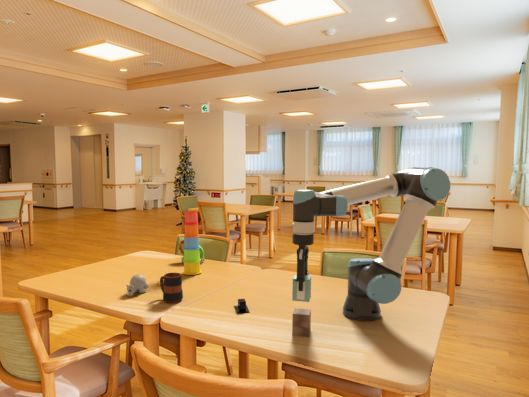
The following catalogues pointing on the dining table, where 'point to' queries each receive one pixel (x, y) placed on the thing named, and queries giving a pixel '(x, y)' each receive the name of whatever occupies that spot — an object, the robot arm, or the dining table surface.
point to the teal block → (307, 289)
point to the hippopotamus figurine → (137, 285)
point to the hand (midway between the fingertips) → (301, 295)
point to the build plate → (241, 307)
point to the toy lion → (181, 246)
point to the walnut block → (301, 322)
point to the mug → (172, 287)
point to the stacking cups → (191, 244)
